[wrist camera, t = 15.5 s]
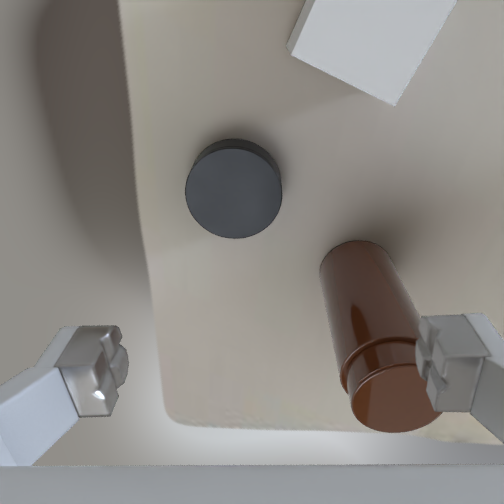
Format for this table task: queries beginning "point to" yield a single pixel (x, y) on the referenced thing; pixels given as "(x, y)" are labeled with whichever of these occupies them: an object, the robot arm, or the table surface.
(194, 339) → the table surface
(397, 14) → the white cube
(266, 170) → the lid
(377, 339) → the coffee jar
